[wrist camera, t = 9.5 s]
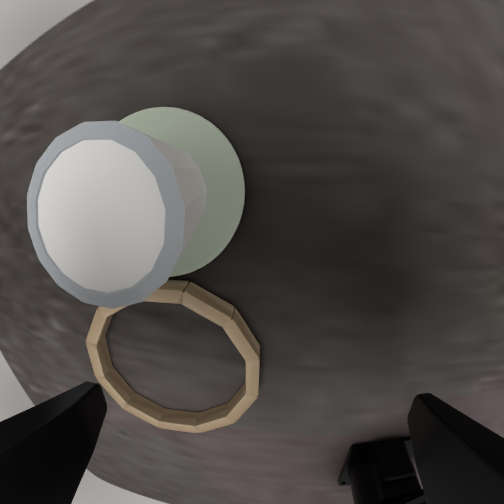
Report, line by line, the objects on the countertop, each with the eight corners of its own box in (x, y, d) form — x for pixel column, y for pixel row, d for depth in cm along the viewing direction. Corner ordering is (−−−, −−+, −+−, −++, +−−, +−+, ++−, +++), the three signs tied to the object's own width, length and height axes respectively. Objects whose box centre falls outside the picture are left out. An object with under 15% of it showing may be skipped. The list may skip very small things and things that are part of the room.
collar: (257, 423, 22) (256, 437, 20) (115, 406, 22) (109, 417, 21) (261, 283, 18) (261, 293, 17) (84, 274, 19) (73, 283, 17)
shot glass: (113, 259, 18) (46, 308, 11) (97, 144, 16) (16, 144, 9) (225, 251, 17) (198, 309, 11) (212, 124, 15) (174, 99, 9)
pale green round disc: (244, 276, 18) (243, 280, 18) (96, 269, 19) (91, 273, 18) (246, 104, 16) (245, 102, 15) (88, 118, 16) (83, 117, 15)
